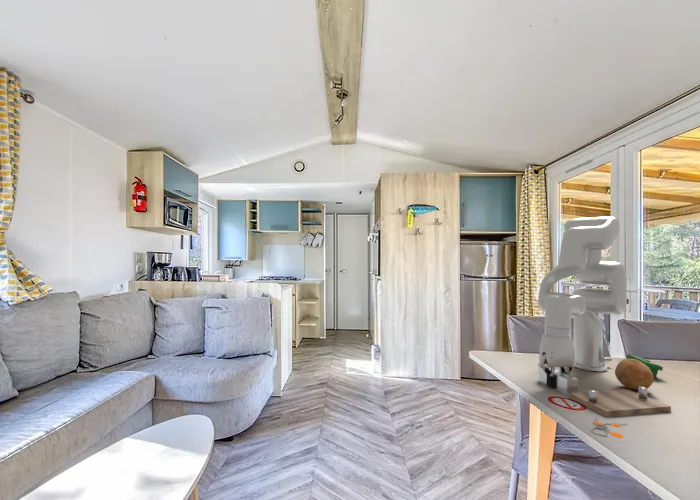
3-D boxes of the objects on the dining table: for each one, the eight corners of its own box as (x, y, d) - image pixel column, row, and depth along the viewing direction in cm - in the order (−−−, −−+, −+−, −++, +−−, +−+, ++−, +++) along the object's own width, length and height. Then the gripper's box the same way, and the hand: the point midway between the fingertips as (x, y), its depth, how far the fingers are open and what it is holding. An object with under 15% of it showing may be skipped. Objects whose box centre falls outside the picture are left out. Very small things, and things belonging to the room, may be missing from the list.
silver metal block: (548, 380, 116) (548, 366, 116) (577, 394, 104) (578, 379, 104) (538, 381, 115) (538, 366, 115) (567, 395, 104) (567, 379, 104)
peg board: (628, 393, 106) (628, 379, 106) (670, 411, 94) (670, 395, 94) (569, 397, 101) (569, 383, 102) (606, 416, 90) (606, 400, 90)
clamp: (654, 389, 121) (667, 371, 117) (636, 383, 122) (649, 365, 119) (638, 367, 132) (650, 350, 128) (621, 362, 133) (633, 345, 129)
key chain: (622, 444, 77) (623, 441, 77) (585, 431, 82) (585, 428, 82) (631, 426, 86) (631, 423, 86) (596, 415, 91) (596, 412, 91)
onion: (661, 394, 106) (661, 363, 106) (638, 396, 104) (638, 364, 104) (629, 382, 116) (629, 354, 116) (607, 384, 113) (607, 355, 113)
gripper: (569, 329, 115) (569, 381, 115) (527, 329, 112) (527, 383, 112) (588, 334, 108) (588, 390, 108) (544, 335, 105) (543, 392, 105)
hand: (557, 386), depth 110 cm, fingers closed on silver metal block, 4 cm apart
